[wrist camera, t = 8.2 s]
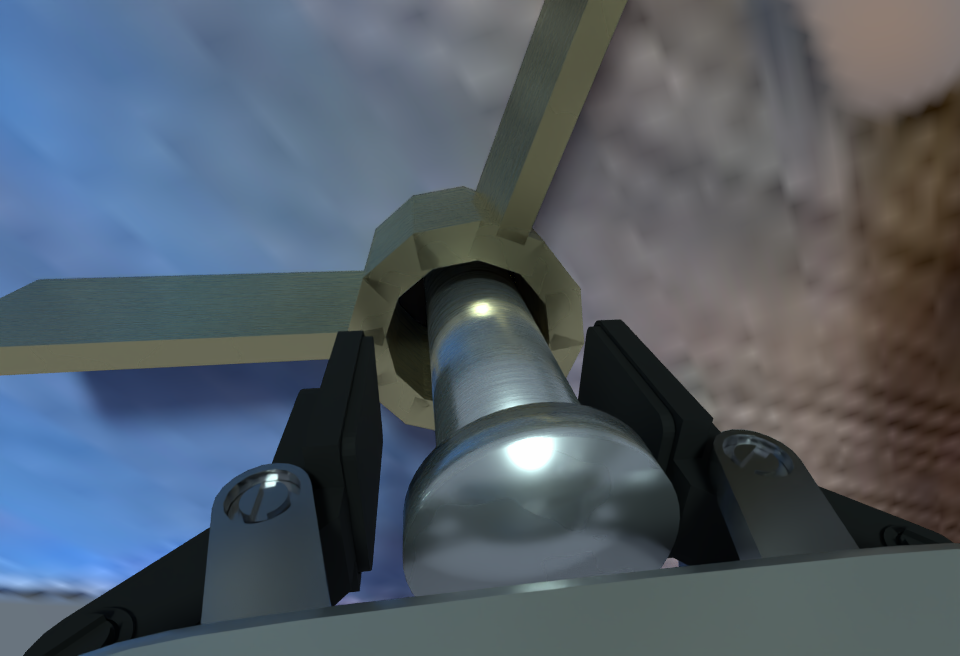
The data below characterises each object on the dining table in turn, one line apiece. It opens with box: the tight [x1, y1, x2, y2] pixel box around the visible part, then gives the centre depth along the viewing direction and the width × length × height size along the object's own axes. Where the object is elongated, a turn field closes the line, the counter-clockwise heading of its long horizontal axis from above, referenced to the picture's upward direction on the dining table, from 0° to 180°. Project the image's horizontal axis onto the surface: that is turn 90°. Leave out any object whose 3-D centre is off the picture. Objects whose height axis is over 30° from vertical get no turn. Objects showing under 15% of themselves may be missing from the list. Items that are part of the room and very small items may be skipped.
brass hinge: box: [0, 0, 627, 430], centre depth 13 cm, size 17×19×5 cm
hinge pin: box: [403, 260, 680, 596], centre depth 12 cm, size 4×4×12 cm
